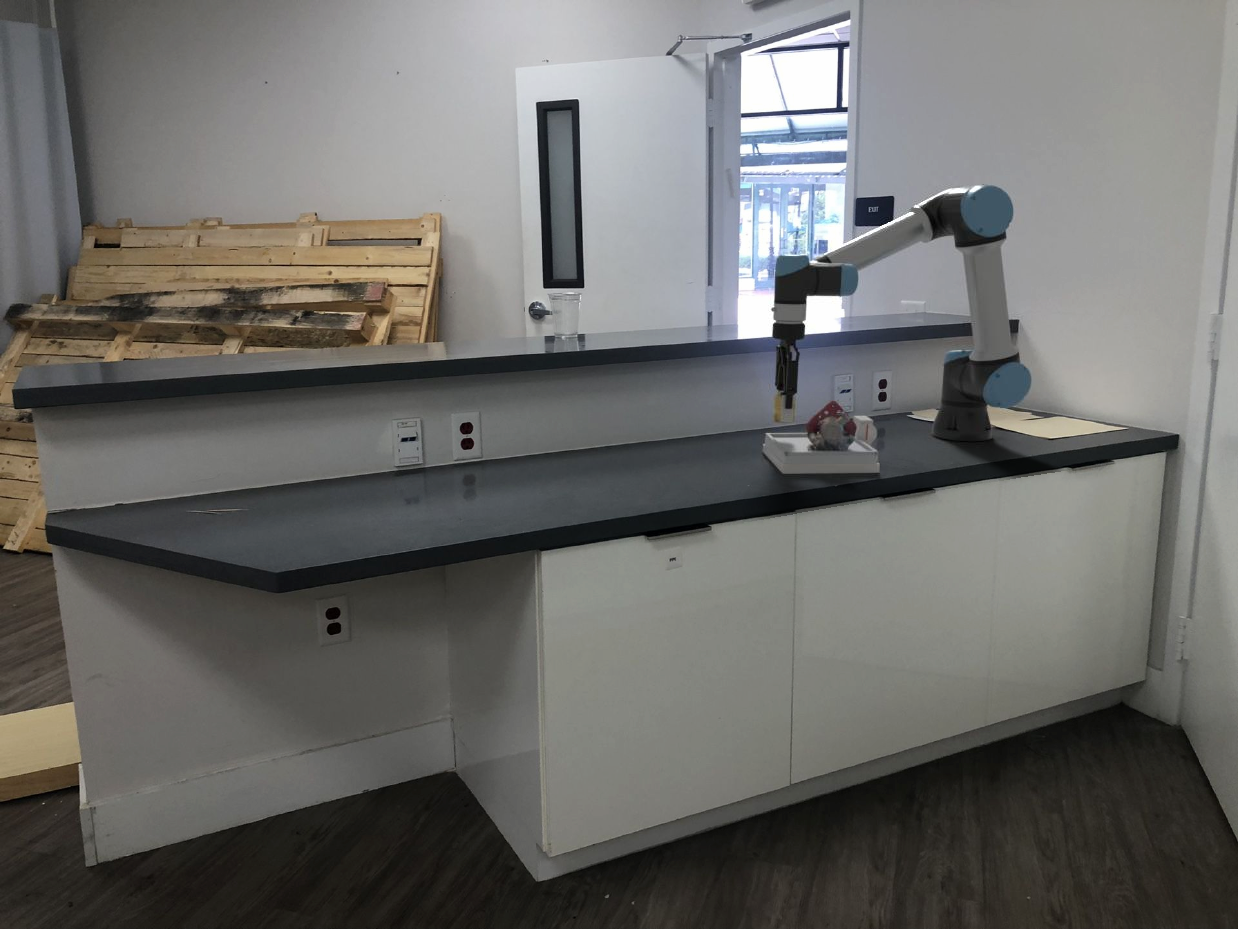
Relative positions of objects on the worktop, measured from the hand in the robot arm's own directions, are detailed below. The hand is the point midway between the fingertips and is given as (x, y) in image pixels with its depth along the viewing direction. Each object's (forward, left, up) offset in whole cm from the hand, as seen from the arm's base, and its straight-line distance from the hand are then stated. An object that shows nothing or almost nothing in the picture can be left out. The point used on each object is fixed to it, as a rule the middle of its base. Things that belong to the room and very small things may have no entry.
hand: (784, 419), depth 231 cm
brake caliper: (-9, +10, -5) cm, 14 cm away
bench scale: (-9, +7, -9) cm, 14 cm away
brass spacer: (0, 0, 0) cm, 0 cm away
